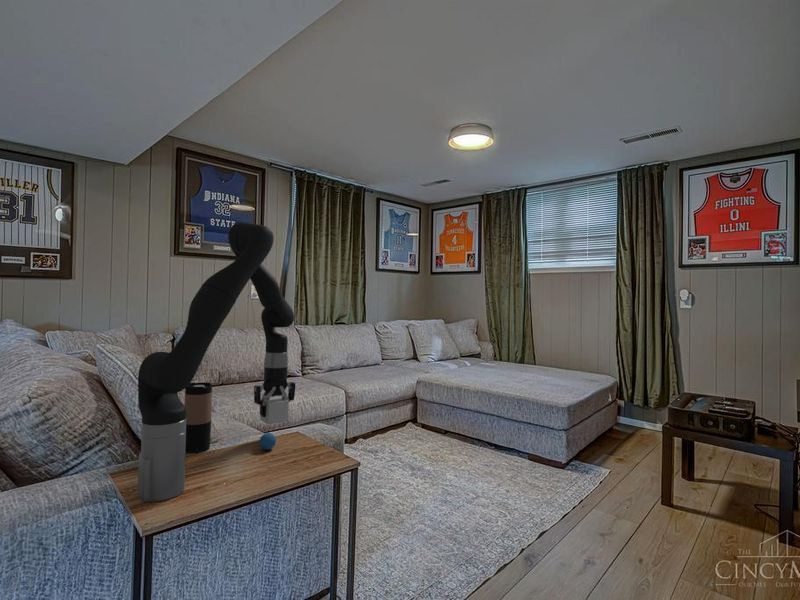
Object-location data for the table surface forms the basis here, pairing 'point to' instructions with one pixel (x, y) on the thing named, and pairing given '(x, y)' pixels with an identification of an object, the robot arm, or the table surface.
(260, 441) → the ball
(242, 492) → the table surface
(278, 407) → the matte gray cube
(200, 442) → the travel mug
